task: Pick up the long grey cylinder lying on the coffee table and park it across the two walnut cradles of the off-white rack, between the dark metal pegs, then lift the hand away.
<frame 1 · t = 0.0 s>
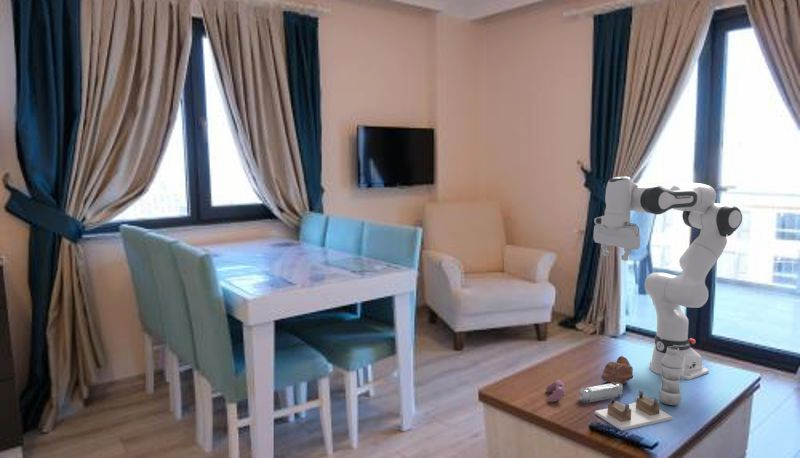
hand: (615, 258, 196), 48 cm above the table, tool pointing down, fingers open, 8 cm apart
spanner rack: (633, 416, 174), on the table
grey long cylinder: (601, 397, 188), on the table
stone: (619, 384, 200), on the table
plastic bottle: (669, 404, 184), on the table
video game controller: (555, 398, 189), on the table
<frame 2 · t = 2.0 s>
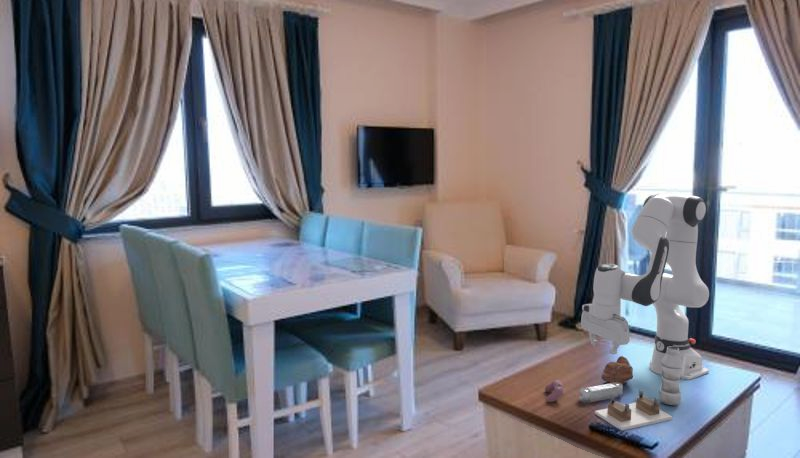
hand: (603, 349, 186), 18 cm above the table, tool pointing down, fingers open, 8 cm apart
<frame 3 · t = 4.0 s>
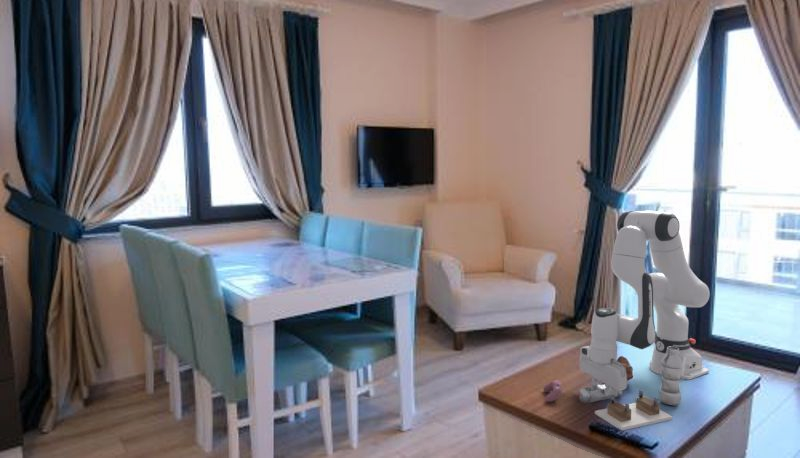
hand: (601, 392, 188), 2 cm above the table, tool pointing down, fingers closed on grey long cylinder, 3 cm apart
grey long cylinder: (601, 397, 188), on the table, touching gripper
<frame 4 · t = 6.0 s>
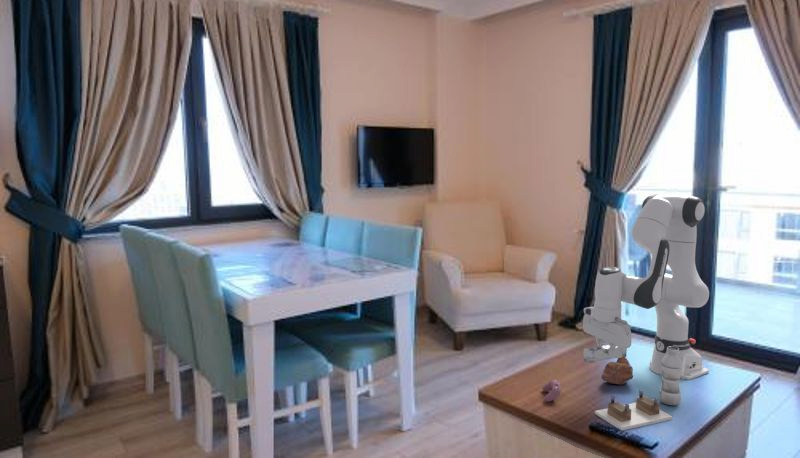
hand: (605, 352, 185), 17 cm above the table, tool pointing down, fingers closed on grey long cylinder, 3 cm apart
grey long cylinder: (604, 358, 186), point 15 cm above the table, touching gripper
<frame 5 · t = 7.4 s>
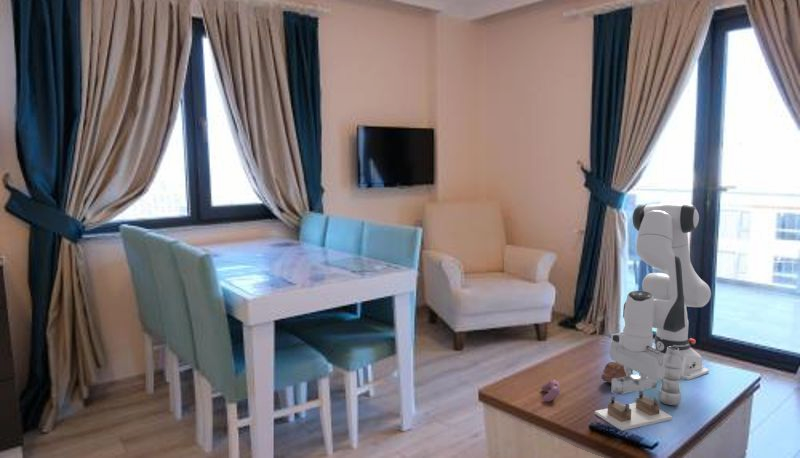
hand: (634, 382, 173), 12 cm above the table, tool pointing down, fingers closed on grey long cylinder, 3 cm apart
grey long cylinder: (634, 388, 173), point 10 cm above the table, touching gripper
when the fingers open (8 cm above the table, at t = 8.2 s): grey long cylinder drops 1 cm, resting on spanner rack.
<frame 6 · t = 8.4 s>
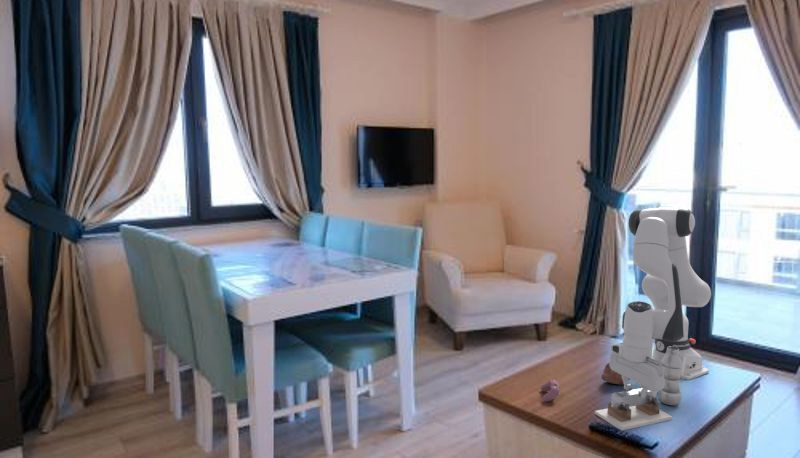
hand: (634, 393, 173), 8 cm above the table, tool pointing down, fingers open, 5 cm apart
grey long cylinder: (633, 403, 174), point 4 cm above the table, touching spanner rack
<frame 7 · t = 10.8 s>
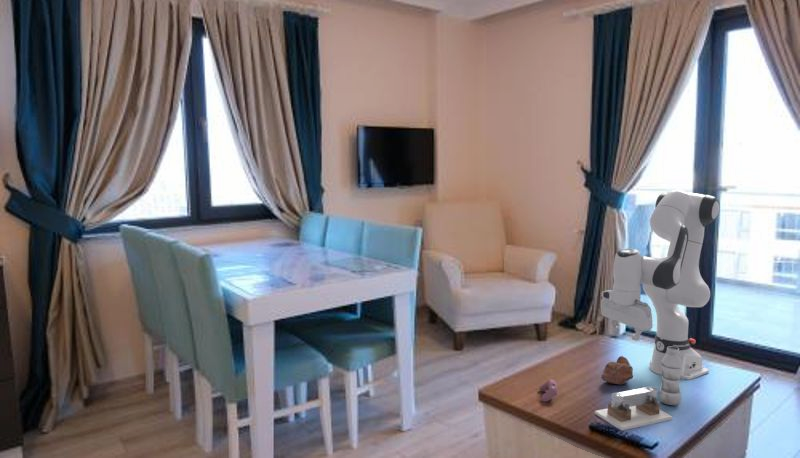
hand: (624, 335, 183), 24 cm above the table, tool pointing down, fingers open, 8 cm apart
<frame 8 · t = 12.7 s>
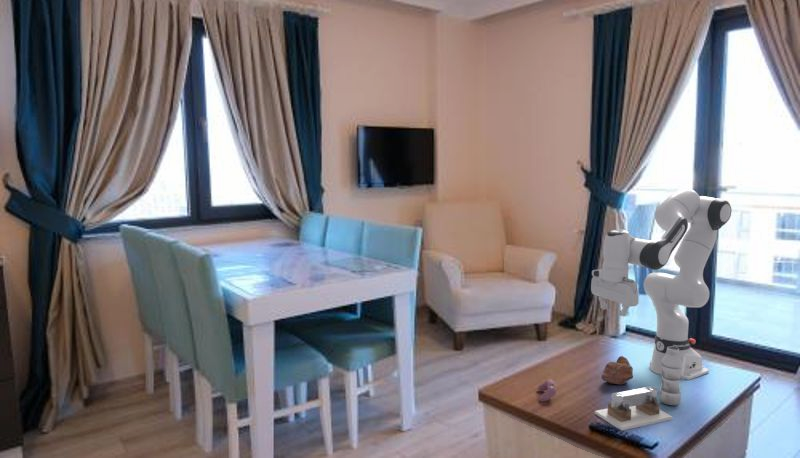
hand: (613, 312, 192), 29 cm above the table, tool pointing down, fingers open, 8 cm apart
at the end: grey long cylinder 0.0 cm off-centre on the spanner rack, point 4.5 cm above the spanner rack's base; grey long cylinder tilted 0°; the gripper is holding nothing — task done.
